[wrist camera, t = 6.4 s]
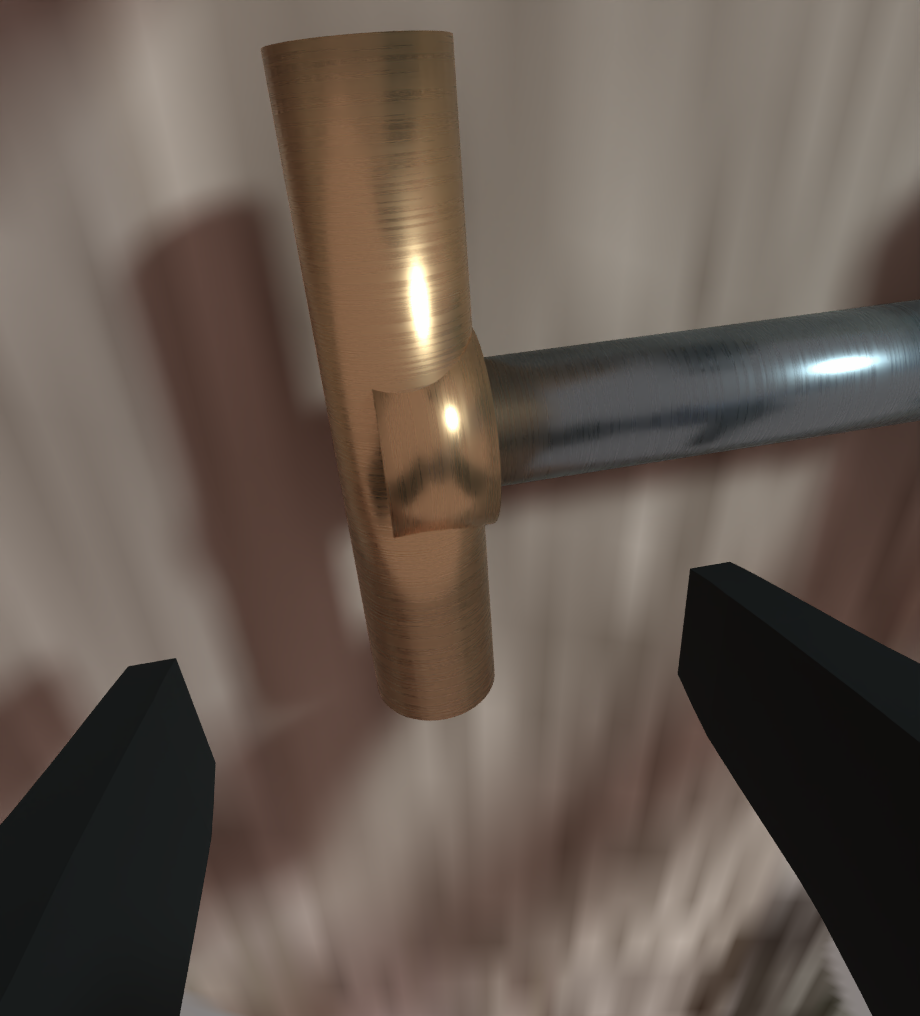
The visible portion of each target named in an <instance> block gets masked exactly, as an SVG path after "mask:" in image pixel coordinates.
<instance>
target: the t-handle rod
mask: <svg viewBox="0 0 920 1016" xmlns="http://www.w3.org/2000/svg"><path fill="white" fill-rule="evenodd" d="M261 54H262V59H263V65H264V70H265V76H266V81H267V87H268V92H269V97H270V103H271V108H272V114H273V119H274V125H275V130H276V135H277V141H278V146H279V152H280V157H281V163H282V168H283V173H284V179H285V184H286V190H287V195H288V201H289V206H290V211H291V217H292V222H293V228H294V233H295V239H296V244H297V250H298V255H299V260H300V266H301V271H302V277H303V282H304V288H305V293H306V298H307V304H308V309H309V315H310V320H311V326H312V331H313V336H314V342H315V347H316V353H317V358H318V364H319V369H320V375H321V380H322V385H323V391H324V396H325V402H326V407H327V413H328V418H329V423H330V429H331V434H332V440H333V445H334V451H335V456H336V461H337V467H338V472H339V478H340V483H341V489H342V494H343V499H344V505H345V510H346V516H347V521H348V527H349V532H350V538H351V543H352V548H353V554H354V559H355V565H356V570H357V576H358V581H359V586H360V592H361V597H362V603H363V608H364V614H365V619H366V624H367V630H368V635H369V641H370V646H371V652H372V657H373V663H374V668H375V673H376V679H377V684H378V689H379V693H380V695H381V697H382V699H383V700H384V702H385V703H386V704H387V705H388V706H389V707H390V708H391V709H393V710H394V711H396V712H397V713H399V714H401V715H403V716H406V717H409V718H413V719H418V720H429V721H430V720H442V719H448V718H452V717H455V716H458V715H461V714H463V713H465V712H467V711H469V710H471V709H472V708H474V707H475V706H476V705H478V704H479V703H480V702H481V701H482V700H483V699H484V698H485V697H486V696H487V694H488V693H489V691H490V689H491V687H492V685H493V682H494V675H495V674H494V658H493V642H492V627H491V612H490V596H489V581H488V566H487V550H486V535H485V525H487V524H493V523H495V522H496V521H497V519H498V516H499V511H500V504H501V486H505V485H511V484H518V483H524V482H531V481H537V480H543V479H550V478H556V477H562V476H569V475H575V474H582V473H588V472H594V471H601V470H607V469H613V468H620V467H626V466H633V465H639V464H645V463H652V462H658V461H664V460H671V459H677V458H684V457H690V456H696V455H703V454H709V453H715V452H722V451H728V450H735V449H741V448H747V447H754V446H760V445H767V444H773V443H779V442H786V441H792V440H798V439H805V438H811V437H817V436H824V435H830V434H837V433H843V432H849V431H856V430H862V429H869V428H875V427H881V426H888V425H894V424H900V423H907V422H913V421H920V300H912V301H904V302H897V303H889V304H882V305H874V306H867V307H859V308H852V309H844V310H837V311H829V312H822V313H814V314H807V315H799V316H792V317H784V318H776V319H769V320H761V321H754V322H746V323H739V324H731V325H724V326H716V327H709V328H701V329H694V330H686V331H679V332H671V333H663V334H656V335H648V336H641V337H633V338H626V339H618V340H611V341H603V342H596V343H588V344H581V345H573V346H566V347H558V348H551V349H543V350H535V351H528V352H520V353H513V354H505V355H498V356H490V357H483V354H482V350H481V347H480V344H479V341H478V339H477V336H476V334H475V332H474V330H473V328H472V320H471V305H470V290H469V274H468V259H467V244H466V228H465V213H464V198H463V182H462V167H461V152H460V136H459V121H458V106H457V90H456V75H455V59H454V44H453V33H450V32H444V31H389V32H372V33H358V34H346V35H335V36H325V37H316V38H308V39H301V40H294V41H287V42H282V43H277V44H272V45H268V46H265V47H262V48H261Z"/></svg>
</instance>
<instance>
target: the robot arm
mask: <svg viewBox="0 0 920 1016" xmlns="http://www.w3.org/2000/svg"><path fill="white" fill-rule="evenodd" d="M678 676H679V678H680V680H681V682H682V684H683V686H684V689H685V691H686V693H687V695H688V697H689V700H690V702H691V704H692V706H693V708H694V710H695V712H696V714H697V716H698V718H699V720H700V722H701V724H702V726H703V728H704V730H705V733H706V735H707V736H708V738H709V740H710V741H711V743H712V744H713V746H714V748H715V749H716V751H717V753H718V754H719V756H720V757H721V759H722V760H723V762H724V764H725V765H726V767H727V768H728V770H729V771H730V773H731V775H732V776H733V778H734V779H735V781H736V782H737V784H738V786H739V787H740V789H741V790H742V792H743V793H744V795H745V796H746V798H747V800H748V801H749V803H750V804H751V806H752V807H753V809H754V810H755V812H756V813H757V815H758V817H759V818H760V820H761V821H762V823H763V824H764V826H765V827H766V829H767V830H768V832H769V834H770V835H771V837H772V838H773V840H774V841H775V843H776V844H777V846H778V848H779V849H780V851H781V852H782V854H783V855H784V857H785V858H786V860H787V861H788V863H789V865H790V866H791V868H792V869H793V871H794V872H795V874H796V875H797V877H798V878H799V880H800V882H801V883H802V885H803V887H804V889H805V890H806V892H807V894H808V895H809V897H810V899H811V900H812V902H813V904H814V905H815V907H816V909H817V910H818V912H819V914H820V916H821V918H822V919H823V921H824V923H825V925H826V927H827V929H828V931H829V933H830V935H831V937H832V938H833V940H834V942H835V944H836V946H837V948H838V950H839V952H840V954H841V956H842V958H843V959H844V961H845V963H846V965H847V967H848V969H849V971H850V973H851V975H852V977H853V978H854V980H855V982H856V984H857V986H858V988H859V990H860V991H861V994H862V996H863V998H864V1000H865V1002H866V1004H867V1006H868V1008H869V1010H870V1012H871V1014H872V1016H920V664H919V663H917V662H915V661H914V660H912V659H910V658H908V657H906V656H904V655H902V654H900V653H898V652H896V651H894V650H892V649H890V648H888V647H886V646H884V645H883V644H881V643H879V642H877V641H875V640H873V639H871V638H869V637H868V636H866V635H864V634H862V633H860V632H858V631H856V630H855V629H853V628H851V627H849V626H847V625H845V624H844V623H842V622H840V621H838V620H836V619H834V618H833V617H831V616H829V615H827V614H825V613H824V612H822V611H820V610H818V609H816V608H815V607H813V606H811V605H809V604H807V603H806V602H804V601H802V600H800V599H798V598H797V597H795V596H793V595H791V594H790V593H788V592H786V591H784V590H782V589H781V588H779V587H777V586H775V585H773V584H771V583H770V582H768V581H766V580H764V579H762V578H761V577H759V576H757V575H755V574H753V573H751V572H749V571H747V570H745V569H743V568H741V567H739V566H737V565H735V564H733V563H731V562H726V563H720V564H715V565H709V566H703V567H697V568H692V569H690V575H689V583H688V591H687V600H686V608H685V617H684V625H683V633H682V642H681V650H680V658H679V667H678ZM214 784H215V760H214V757H213V755H212V752H211V750H210V747H209V744H208V742H207V739H206V736H205V734H204V731H203V728H202V726H201V723H200V720H199V718H198V715H197V713H196V710H195V707H194V705H193V702H192V699H191V697H190V694H189V691H188V689H187V686H186V684H185V681H184V678H183V676H182V673H181V670H180V668H179V665H178V662H177V660H176V658H174V659H168V660H163V661H157V662H151V663H145V664H140V665H134V666H128V667H127V669H126V670H125V671H124V672H123V674H122V675H121V676H120V677H119V678H118V680H117V681H116V682H115V683H114V685H113V686H112V687H111V688H110V690H109V691H108V692H107V693H106V695H105V696H104V697H103V698H102V700H101V701H100V702H99V704H98V705H97V706H96V707H95V709H94V710H93V711H92V712H91V714H90V715H89V716H88V718H87V719H86V720H85V721H84V723H83V724H82V725H81V726H80V728H79V729H78V730H77V732H76V733H75V734H74V735H73V737H72V738H71V739H70V740H69V742H68V743H67V744H66V745H65V747H64V748H63V749H62V751H61V752H60V753H59V754H58V756H57V757H56V758H55V759H54V761H53V762H52V763H51V764H50V766H49V767H48V768H47V769H46V770H45V772H44V773H43V774H42V775H41V777H40V778H39V779H38V780H37V781H36V783H35V784H34V785H33V786H32V788H31V789H30V790H29V791H28V793H27V794H26V795H25V796H24V797H23V799H22V800H21V801H20V802H19V804H18V805H17V806H16V807H15V808H14V810H13V811H12V812H11V813H10V814H9V816H8V817H7V818H6V819H5V820H4V821H3V823H2V824H1V825H0V1016H180V1010H181V1005H182V999H183V994H184V988H185V983H186V977H187V972H188V966H189V961H190V955H191V950H192V944H193V939H194V933H195V928H196V922H197V917H198V911H199V906H200V900H201V894H202V889H203V883H204V877H205V872H206V866H207V860H208V854H209V848H210V842H211V835H212V820H213V805H214Z"/></svg>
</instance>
